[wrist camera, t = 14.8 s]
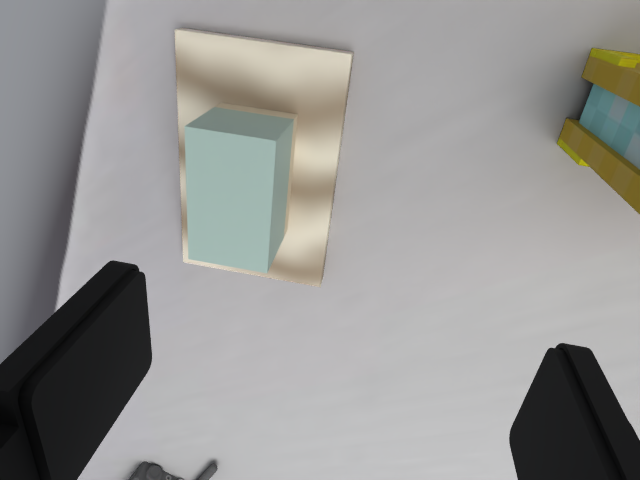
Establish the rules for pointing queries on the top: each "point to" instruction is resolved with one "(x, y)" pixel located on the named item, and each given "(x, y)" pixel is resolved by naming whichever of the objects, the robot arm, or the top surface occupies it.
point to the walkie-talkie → (164, 473)
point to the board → (278, 95)
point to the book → (609, 123)
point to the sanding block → (239, 185)
